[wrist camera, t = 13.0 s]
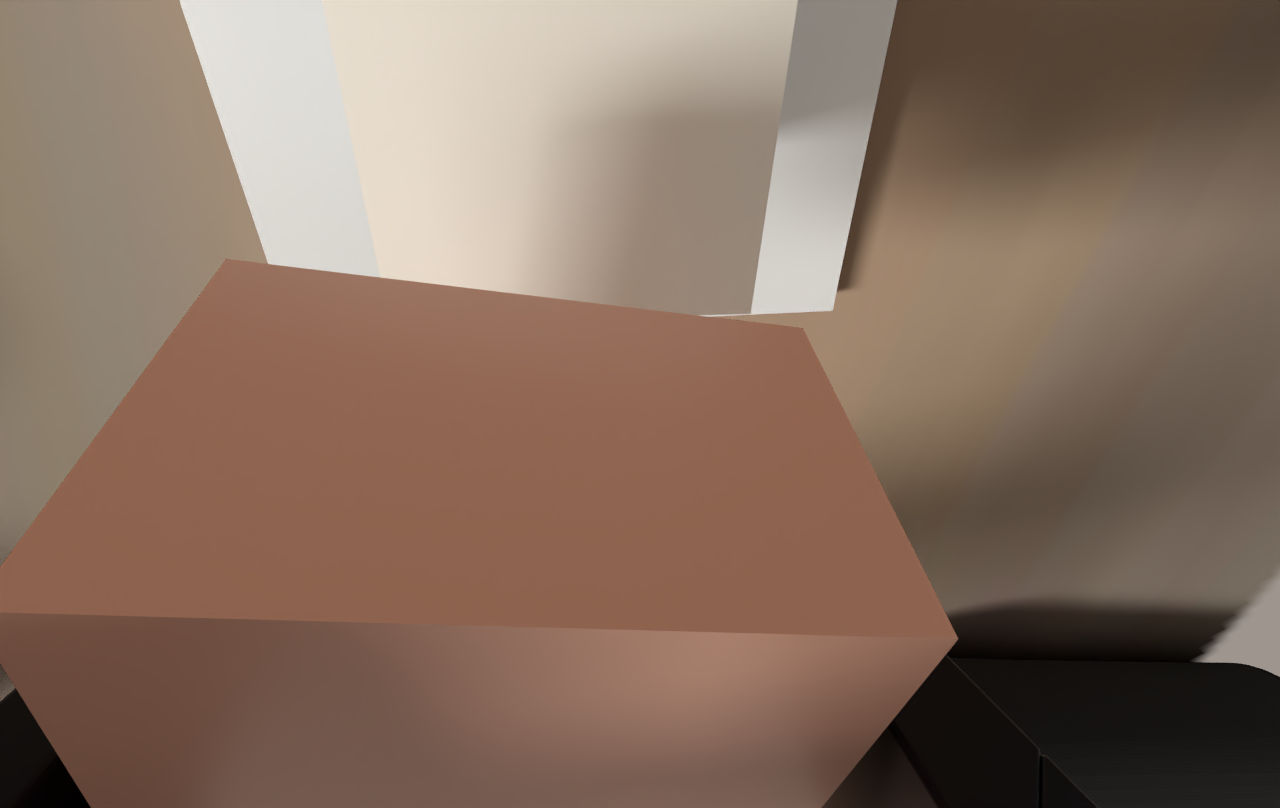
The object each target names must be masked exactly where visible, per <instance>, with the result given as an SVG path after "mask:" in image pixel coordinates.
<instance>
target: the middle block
mask: <svg viewBox="0 0 1280 808" xmlns="http://www.w3.org/2000/svg"><path fill="white" fill-rule="evenodd" d="M797 3H798V0H322V4H323V9H324V13H325V18H326V23H327V28H328V32H329V37H330V42H331V47H332V51H333V56H334V61H335V66H336V70H337V75H338V80H339V85H340V89H341V94H342V99H343V104H344V108H345V113H346V118H347V123H348V127H349V132H350V137H351V142H352V146H353V151H354V156H355V161H356V165H357V170H358V175H359V180H360V184H361V189H362V194H363V199H364V203H365V208H366V213H367V218H368V222H369V227H370V232H371V237H372V241H373V246H374V251H375V256H376V260H377V265H378V270H379V275H380V277H381V278H389V279H397V280H406V281H414V282H422V283H431V284H439V285H447V286H456V287H464V288H472V289H481V290H489V291H497V292H506V293H514V294H522V295H531V296H539V297H548V298H556V299H564V300H573V301H581V302H589V303H598V304H606V305H614V306H623V307H631V308H639V309H648V310H656V311H664V312H673V313H681V314H690V315H728V314H751V308H752V301H753V295H754V288H755V281H756V275H757V268H758V262H759V255H760V248H761V242H762V235H763V229H764V222H765V215H766V209H767V202H768V195H769V189H770V182H771V176H772V169H773V162H774V156H775V149H776V142H777V136H778V129H779V123H780V116H781V109H782V103H783V96H784V89H785V83H786V76H787V70H788V63H789V56H790V50H791V43H792V36H793V30H794V23H795V17H796V10H797Z"/></svg>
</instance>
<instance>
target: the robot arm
mask: <svg viewBox="0 0 1280 808" xmlns="http://www.w3.org/2000/svg"><path fill="white" fill-rule="evenodd" d="M0 808H91V807H90V805H89V804H88V802H87V801H86V799H85V797H84V796H83V794H82V793H81V791H80V789H79V788H78V786H77V785H76V783H75V782H74V780H73V778H72V777H71V775H70V774H69V772H68V770H67V769H66V767H65V766H64V764H63V762H62V761H61V759H60V758H59V756H58V754H57V753H56V751H55V750H54V748H53V747H52V745H51V743H50V742H49V740H48V739H47V737H46V735H45V734H44V732H43V731H42V729H41V727H40V726H39V724H38V723H37V721H36V719H35V718H34V716H33V715H32V713H31V712H30V710H29V708H28V707H27V705H26V704H25V702H24V700H23V699H22V697H21V696H20V694H19V692H18V691H17V689H16V688H15V689H14V690H13V691H12V692H11V693H10V694H8V695H7V696H6V697H5V698H4V699H3V700H1V701H0ZM822 808H1099V807H1098V806H1097V805H1096V804H1095V803H1094V802H1093V801H1092V800H1091V799H1090V798H1089V797H1088V796H1087V795H1086V794H1085V793H1084V792H1083V791H1081V790H1080V789H1079V788H1078V787H1077V786H1076V785H1075V784H1074V783H1073V782H1072V781H1071V780H1070V779H1069V778H1068V777H1067V776H1066V775H1065V774H1064V773H1063V771H1062V770H1061V769H1060V768H1059V767H1058V766H1057V765H1056V764H1055V763H1054V762H1053V761H1052V760H1051V759H1050V758H1049V757H1048V756H1046V755H1041V756H1040V749H1039V748H1038V747H1037V746H1036V745H1035V744H1034V743H1033V742H1032V741H1031V740H1030V739H1029V738H1028V737H1027V736H1026V735H1025V734H1024V733H1023V731H1022V730H1021V729H1020V728H1019V727H1018V726H1017V725H1016V724H1015V723H1014V722H1013V721H1012V720H1011V719H1010V718H1009V717H1008V716H1007V715H1006V714H1005V713H1004V712H1003V711H1002V710H1001V709H1000V708H999V707H998V706H997V705H996V704H995V703H994V702H993V701H992V700H991V699H990V698H989V697H988V696H987V695H986V694H985V693H984V692H983V691H982V690H981V689H980V688H979V687H978V686H977V685H976V684H975V683H974V682H973V681H972V680H971V679H970V678H969V677H968V676H967V675H966V674H965V673H964V672H963V671H962V670H961V669H960V668H959V667H958V666H957V665H956V664H955V663H954V662H953V661H952V660H951V659H950V658H949V657H948V656H947V655H945V656H944V657H943V659H942V660H941V661H940V662H939V664H938V665H937V666H936V667H935V668H934V670H933V671H932V672H931V673H930V675H929V676H928V677H927V678H926V680H925V681H924V682H923V683H922V685H921V686H920V687H919V688H918V689H917V691H916V692H915V693H914V694H913V696H912V697H911V698H910V699H909V701H908V702H907V703H906V704H905V705H904V707H903V708H902V709H901V710H900V712H899V713H898V714H897V715H896V717H895V718H894V719H893V720H892V721H891V723H890V724H889V725H888V726H887V728H886V729H885V730H884V731H883V733H882V734H881V735H880V736H879V737H878V739H877V740H876V741H875V742H874V744H873V745H872V746H871V747H870V749H869V750H868V751H867V752H866V753H865V755H864V756H863V757H862V758H861V760H860V761H859V762H858V763H857V765H856V766H855V767H854V768H853V769H852V771H851V772H850V773H849V774H848V776H847V777H846V778H845V779H844V781H843V782H842V783H841V784H840V785H839V787H838V788H837V789H836V790H835V792H834V793H833V794H832V795H831V797H830V798H829V799H828V800H827V802H826V803H825V804H824V805H823V806H822Z"/></svg>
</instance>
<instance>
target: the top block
mask: <svg viewBox="0 0 1280 808" xmlns="http://www.w3.org/2000/svg"><path fill="white" fill-rule="evenodd" d="M957 640H958V637H957V635H956V633H955V631H954V629H953V627H952V625H951V623H950V621H949V619H948V617H947V615H946V613H945V611H944V609H943V607H942V605H941V603H940V601H939V599H938V597H937V595H936V593H935V591H934V589H933V587H932V585H931V583H930V581H929V579H928V577H927V575H926V573H925V571H924V569H923V567H922V565H921V563H920V561H919V559H918V557H917V555H916V553H915V551H914V549H913V547H912V545H911V543H910V541H909V539H908V537H907V535H906V533H905V531H904V529H903V528H902V526H901V524H900V522H899V520H898V518H897V516H896V514H895V512H894V510H893V508H892V506H891V504H890V502H889V500H888V498H887V496H886V494H885V492H884V490H883V488H882V486H881V484H880V482H879V480H878V478H877V476H876V474H875V472H874V470H873V468H872V466H871V464H870V462H869V460H868V458H867V456H866V454H865V452H864V450H863V448H862V446H861V444H860V442H859V440H858V438H857V436H856V434H855V432H854V430H853V428H852V426H851V424H850V422H849V420H848V418H847V416H846V414H845V412H844V410H843V408H842V406H841V404H840V402H839V400H838V398H837V396H836V394H835V392H834V390H833V388H832V386H831V384H830V382H829V380H828V378H827V376H826V374H825V372H824V370H823V368H822V366H821V364H820V362H819V360H818V358H817V356H816V354H815V352H814V350H813V348H812V346H811V344H810V342H809V340H808V338H807V336H806V334H805V332H804V330H803V328H798V327H790V326H781V325H773V324H765V323H756V322H748V321H740V320H731V319H723V318H715V317H706V316H698V315H690V314H681V313H673V312H664V311H656V310H648V309H639V308H631V307H623V306H614V305H606V304H598V303H589V302H581V301H573V300H564V299H556V298H548V297H539V296H531V295H522V294H514V293H506V292H497V291H489V290H481V289H472V288H464V287H456V286H447V285H439V284H431V283H422V282H414V281H406V280H397V279H389V278H381V277H372V276H364V275H355V274H347V273H339V272H330V271H322V270H314V269H305V268H297V267H289V266H280V265H272V264H264V263H255V262H247V261H239V260H230V259H226V260H225V261H224V263H223V264H222V265H221V267H220V268H219V269H218V271H217V272H216V273H215V275H214V276H213V278H212V279H211V280H210V282H209V283H208V284H207V286H206V287H205V288H204V290H203V291H202V293H201V294H200V295H199V297H198V298H197V299H196V301H195V302H194V303H193V305H192V306H191V308H190V309H189V310H188V312H187V313H186V314H185V316H184V317H183V318H182V320H181V321H180V323H179V324H178V325H177V327H176V328H175V329H174V331H173V332H172V333H171V335H170V336H169V338H168V339H167V340H166V342H165V343H164V344H163V346H162V347H161V348H160V350H159V351H158V353H157V354H156V355H155V357H154V358H153V359H152V361H151V362H150V363H149V365H148V366H147V368H146V369H145V370H144V372H143V373H142V374H141V376H140V377H139V378H138V380H137V381H136V383H135V384H134V385H133V387H132V388H131V389H130V391H129V392H128V393H127V395H126V396H125V398H124V399H123V400H122V402H121V403H120V404H119V406H118V407H117V408H116V410H115V411H114V413H113V414H112V415H111V417H110V418H109V419H108V421H107V422H106V423H105V425H104V426H103V428H102V429H101V430H100V432H99V433H98V434H97V436H96V437H95V438H94V440H93V441H92V443H91V444H90V445H89V447H88V448H87V449H86V451H85V452H84V453H83V455H82V456H81V458H80V459H79V460H78V462H77V463H76V464H75V466H74V467H73V468H72V470H71V471H70V473H69V474H68V475H67V477H66V478H65V479H64V481H63V482H62V483H61V485H60V486H59V488H58V489H57V490H56V492H55V493H54V494H53V496H52V497H51V498H50V500H49V501H48V503H47V504H46V505H45V507H44V508H43V509H42V511H41V512H40V513H39V515H38V516H37V518H36V519H35V520H34V522H33V523H32V524H31V526H30V527H29V528H28V530H27V531H26V533H25V534H24V535H23V537H22V538H21V539H20V541H19V542H18V543H17V545H16V546H15V548H14V549H13V550H12V552H11V553H10V554H9V556H8V557H7V558H6V560H5V561H4V563H3V564H2V565H1V567H0V664H1V665H2V667H3V669H4V670H5V672H6V673H7V675H8V677H9V678H10V680H11V681H12V683H13V685H14V686H15V688H16V689H17V691H18V692H19V694H20V696H21V697H22V699H23V700H24V702H25V704H26V705H27V707H28V708H29V710H30V712H31V713H32V715H33V716H34V718H35V719H36V721H37V723H38V724H39V726H40V727H41V729H42V731H43V732H44V734H45V735H46V737H47V739H48V740H49V742H50V743H51V745H52V747H53V748H54V750H55V751H56V753H57V754H58V756H59V758H60V759H61V761H62V762H63V764H64V766H65V767H66V769H67V770H68V772H69V774H70V775H71V777H72V778H73V780H74V782H75V783H76V785H77V786H78V788H79V789H80V791H81V793H82V794H83V796H84V797H85V799H86V801H87V802H88V804H89V805H90V807H91V808H822V806H823V805H824V804H825V803H826V802H827V800H828V799H829V798H830V797H831V795H832V794H833V793H834V792H835V790H836V789H837V788H838V787H839V785H840V784H841V783H842V782H843V781H844V779H845V778H846V777H847V776H848V774H849V773H850V772H851V771H852V769H853V768H854V767H855V766H856V765H857V763H858V762H859V761H860V760H861V758H862V757H863V756H864V755H865V753H866V752H867V751H868V750H869V749H870V747H871V746H872V745H873V744H874V742H875V741H876V740H877V739H878V737H879V736H880V735H881V734H882V733H883V731H884V730H885V729H886V728H887V726H888V725H889V724H890V723H891V721H892V720H893V719H894V718H895V717H896V715H897V714H898V713H899V712H900V710H901V709H902V708H903V707H904V705H905V704H906V703H907V702H908V701H909V699H910V698H911V697H912V696H913V694H914V693H915V692H916V691H917V689H918V688H919V687H920V686H921V685H922V683H923V682H924V681H925V680H926V678H927V677H928V676H929V675H930V673H931V672H932V671H933V670H934V668H935V667H936V666H937V665H938V664H939V662H940V661H941V660H942V659H943V657H944V656H945V655H946V654H947V652H948V651H949V650H950V649H951V648H952V646H953V645H954V644H955V643H956V641H957Z"/></svg>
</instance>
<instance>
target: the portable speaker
mask: <svg viewBox="0 0 1280 808" xmlns="http://www.w3.org/2000/svg"><path fill="white" fill-rule="evenodd" d="M950 659H951V660H952V661H953V662H954V663H955V664H956V665H957V666H958V667H959V668H960V669H961V670H962V671H963V672H964V673H965V674H966V675H967V676H968V677H969V678H970V679H971V680H972V681H973V682H974V683H975V684H976V685H977V686H978V687H979V688H980V689H981V690H982V691H983V692H984V693H985V694H986V695H987V696H988V697H989V698H990V699H991V700H992V701H993V702H994V703H995V704H996V705H997V706H998V707H999V708H1000V709H1001V710H1002V711H1003V712H1004V713H1005V714H1006V715H1007V716H1008V717H1009V718H1010V719H1011V720H1012V721H1013V722H1014V723H1015V724H1016V725H1017V726H1018V727H1019V728H1020V729H1021V730H1022V731H1023V733H1024V734H1025V735H1026V736H1027V737H1028V738H1029V739H1030V740H1031V741H1032V742H1033V743H1034V744H1035V745H1036V746H1037V747H1038V748H1039V749H1040V756H1041V755H1046V756H1048V757H1049V758H1050V759H1051V760H1052V761H1053V762H1054V763H1055V764H1056V765H1057V766H1058V767H1059V768H1060V769H1061V770H1062V771H1063V773H1064V774H1065V775H1066V776H1067V777H1068V778H1069V779H1070V780H1071V781H1072V782H1073V783H1074V784H1075V785H1076V786H1077V787H1078V788H1079V789H1080V790H1081V791H1083V792H1084V793H1085V794H1086V795H1087V796H1088V797H1089V798H1090V799H1091V800H1092V801H1093V802H1094V803H1095V804H1096V805H1097V806H1098V807H1099V808H1280V677H1279V676H1276V675H1274V674H1272V673H1270V672H1268V671H1265V670H1263V669H1260V668H1256V667H1253V666H1249V665H1245V664H1238V663H1201V662H1111V661H1057V660H1003V659H992V658H950Z"/></svg>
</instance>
